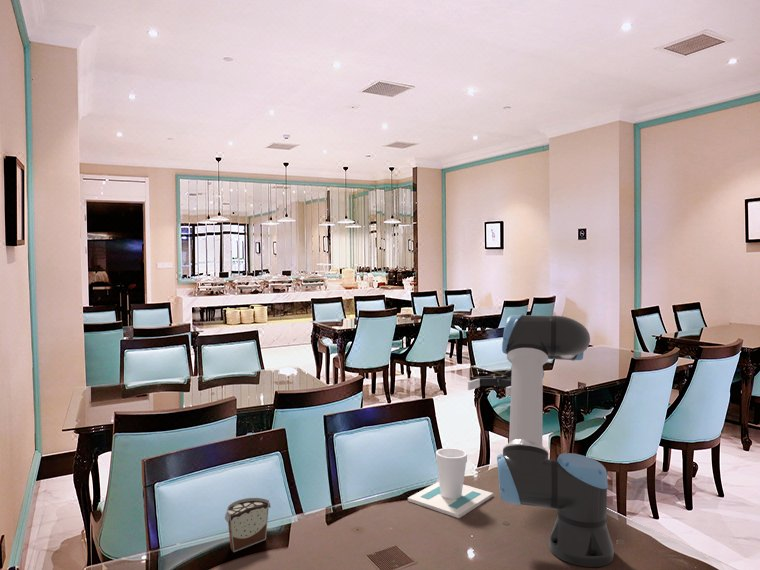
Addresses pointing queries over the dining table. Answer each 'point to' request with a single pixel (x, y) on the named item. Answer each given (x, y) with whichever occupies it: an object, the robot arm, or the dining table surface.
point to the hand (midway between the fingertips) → (487, 388)
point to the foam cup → (451, 471)
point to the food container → (247, 522)
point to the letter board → (450, 500)
